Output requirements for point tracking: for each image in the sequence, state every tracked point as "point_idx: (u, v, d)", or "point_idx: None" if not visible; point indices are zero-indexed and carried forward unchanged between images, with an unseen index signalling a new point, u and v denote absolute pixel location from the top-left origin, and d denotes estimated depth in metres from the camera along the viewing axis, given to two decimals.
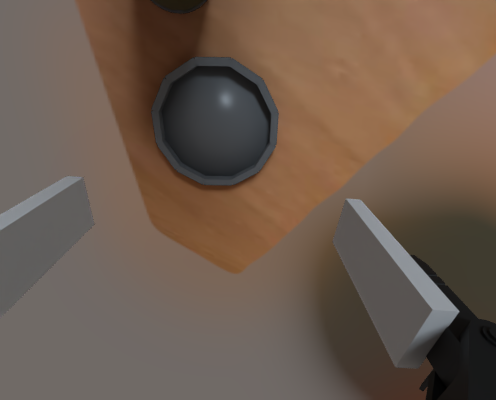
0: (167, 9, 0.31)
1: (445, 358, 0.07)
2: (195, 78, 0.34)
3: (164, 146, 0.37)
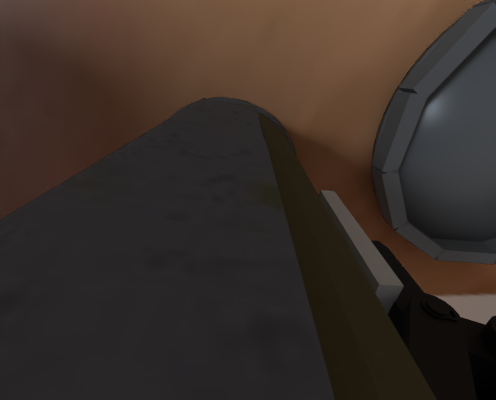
0: None
1: None
2: (404, 172, 0.17)
3: None
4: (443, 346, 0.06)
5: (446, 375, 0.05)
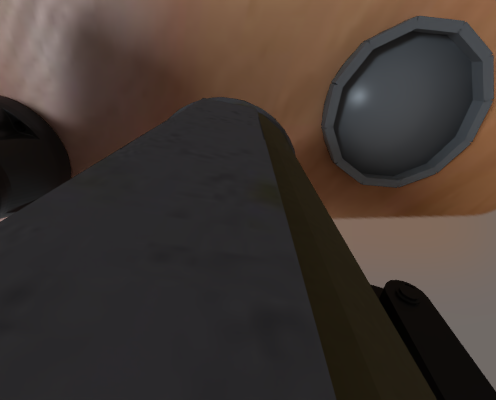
0: None
1: None
2: (340, 130, 0.30)
3: (403, 179, 0.32)
4: None
5: None
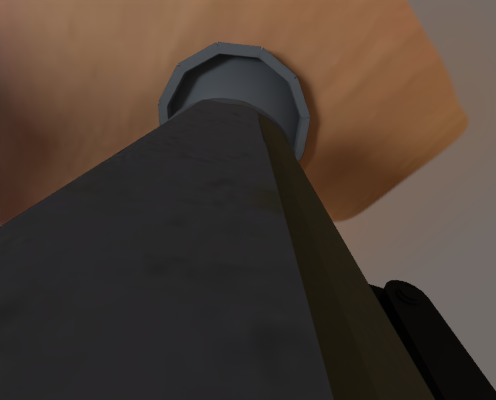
0: None
1: None
2: None
3: None
4: None
5: None
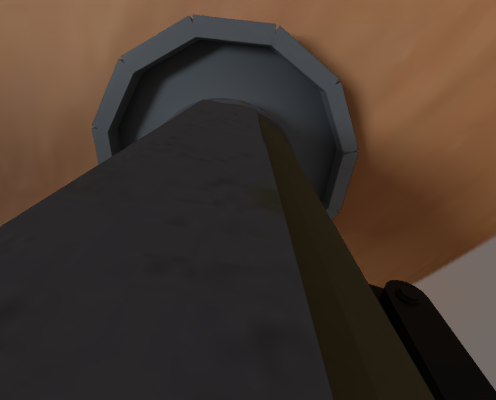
0: None
1: None
2: None
3: None
4: None
5: None
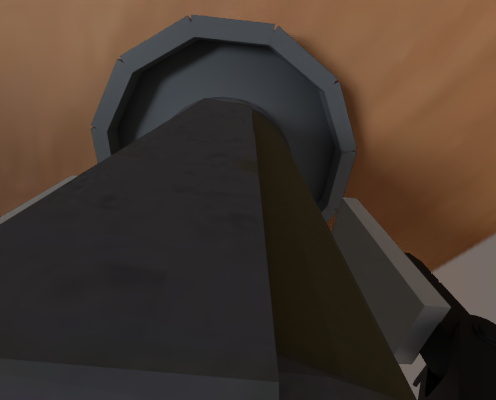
0: None
1: (437, 354, 0.07)
2: None
3: None
4: None
5: None
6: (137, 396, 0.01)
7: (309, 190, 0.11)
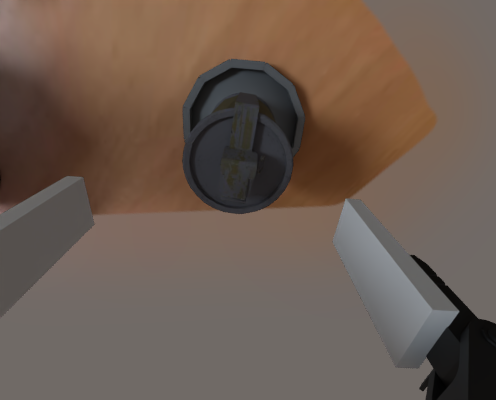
0: None
1: (445, 358, 0.07)
2: None
3: None
4: None
5: None
6: (251, 104, 0.20)
7: None
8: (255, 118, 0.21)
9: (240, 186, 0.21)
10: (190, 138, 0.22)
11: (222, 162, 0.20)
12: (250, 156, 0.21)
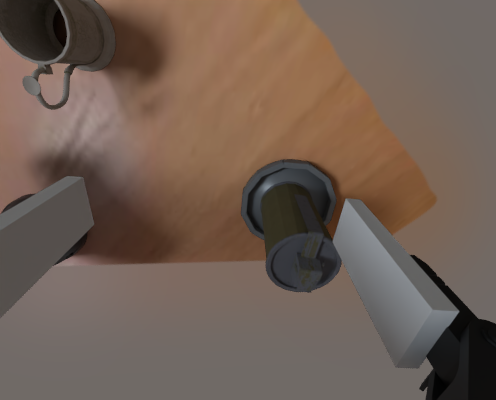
0: None
1: (445, 358, 0.07)
2: (253, 212, 0.50)
3: None
4: None
5: None
6: (318, 233, 0.31)
7: None
8: (320, 240, 0.31)
9: (309, 284, 0.32)
10: (274, 249, 0.32)
11: (300, 271, 0.31)
12: (316, 264, 0.32)
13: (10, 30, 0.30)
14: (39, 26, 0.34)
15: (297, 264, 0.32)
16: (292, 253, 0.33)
